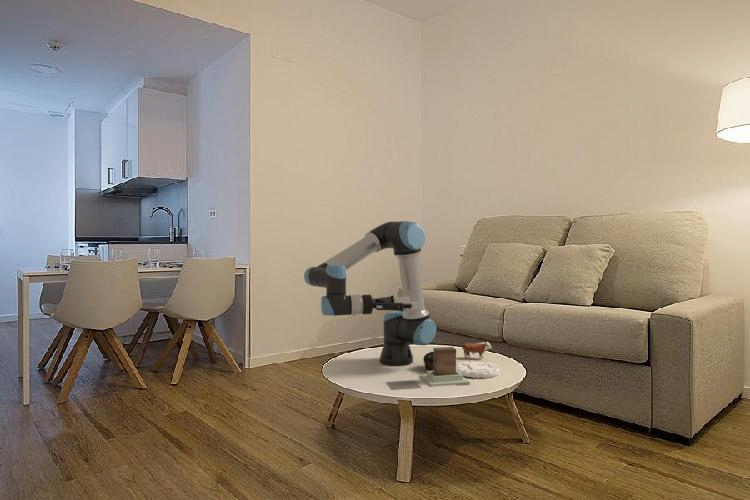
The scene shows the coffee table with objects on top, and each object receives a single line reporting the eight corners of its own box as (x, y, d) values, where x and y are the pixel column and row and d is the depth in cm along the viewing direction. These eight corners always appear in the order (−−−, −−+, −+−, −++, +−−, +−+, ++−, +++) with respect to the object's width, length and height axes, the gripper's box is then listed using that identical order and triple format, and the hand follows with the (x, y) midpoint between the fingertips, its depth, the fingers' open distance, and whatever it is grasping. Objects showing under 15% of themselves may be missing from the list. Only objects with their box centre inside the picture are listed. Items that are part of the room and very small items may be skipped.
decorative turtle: (434, 375, 216) (432, 356, 216) (417, 368, 230) (416, 350, 230) (454, 371, 220) (452, 353, 220) (436, 365, 234) (435, 347, 234)
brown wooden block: (433, 377, 211) (433, 347, 210) (452, 375, 212) (452, 346, 212) (436, 380, 206) (437, 350, 206) (455, 379, 208) (456, 349, 207)
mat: (385, 382, 206) (385, 382, 206) (414, 380, 209) (414, 380, 209) (391, 390, 197) (391, 389, 196) (421, 388, 199) (421, 387, 199)
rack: (420, 376, 214) (420, 369, 214) (457, 374, 218) (457, 367, 217) (431, 387, 201) (431, 379, 201) (470, 384, 204) (470, 376, 204)
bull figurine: (491, 360, 240) (492, 343, 239) (462, 359, 242) (462, 342, 241) (491, 358, 244) (491, 340, 244) (462, 356, 246) (462, 339, 246)
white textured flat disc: (501, 368, 228) (501, 362, 228) (497, 381, 209) (497, 374, 209) (455, 364, 234) (455, 358, 234) (448, 376, 215) (448, 369, 215)
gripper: (356, 309, 213) (406, 307, 217) (367, 320, 189) (423, 317, 193) (355, 290, 213) (406, 289, 217) (367, 299, 188) (423, 297, 193)
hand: (414, 302), depth 205 cm, fingers open, 13 cm apart
